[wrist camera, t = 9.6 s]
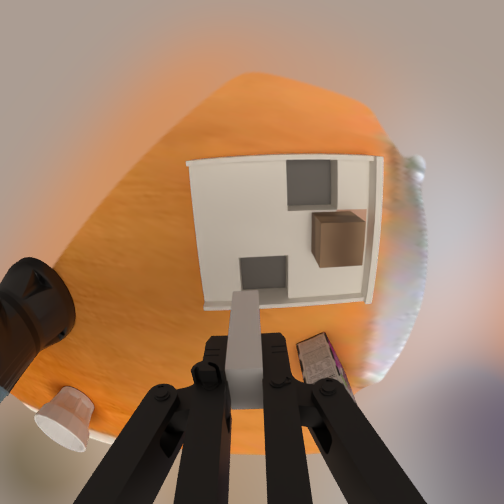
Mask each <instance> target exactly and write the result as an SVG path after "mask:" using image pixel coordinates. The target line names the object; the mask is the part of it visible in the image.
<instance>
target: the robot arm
mask: <svg viewBox="0 0 504 504" xmlns="http://www.w3.org/2000/svg"><path fill="white" fill-rule="evenodd" d="M74 322H75V310H74V305H73V302H72V299H71V296H70V294H69V292H68V290H67V288H66V286H65V284H64V283H63V281H62V280H61V278H60V277H59V276H58V275H57V273H56V272H55V271H54V270H53V269H52V268H51V267H49V266H48V265H47V264H46V263H44V262H42V261H41V260H38V259H36V258H32V257H27V258H23V259H21V260H19V261H18V262H16V263H15V264H14V265H13V266H11V268H10V269H9V270H8V272H7V274H6V275H5V277H4V278H3V280H2V282H1V283H0V403H1V401H3V399H4V398H5V397H6V396H8V395H9V393H10V391H11V390H12V388H13V387H14V386H15V384H16V383H17V381H18V380H19V378H20V377H21V376H22V374H23V373H24V372H25V370H26V369H27V367H28V366H29V365H30V363H31V362H32V361H33V360H34V358H35V357H36V356H37V354H38V353H39V352H40V351H41V350H43V349H45V348H47V347H49V346H51V345H53V344H55V343H57V342H59V341H61V340H62V339H64V338H65V337H66V336H67V334H68V333H69V332H70V331H71V329H72V328H73V326H74ZM191 373H192V377H193V380H194V384H193V385H191V386H189V387H186V388H182V389H177V390H176V389H175V388H174V387H173V386H171V385H169V384H159V385H156V386H154V387H152V388H151V389H150V390H149V391H148V393H147V394H146V396H145V397H144V399H143V400H142V402H141V403H140V405H139V406H138V407H137V409H136V410H135V412H134V413H133V415H132V416H131V418H130V419H129V421H128V422H127V424H126V425H125V427H124V428H123V430H122V431H121V433H120V434H119V436H118V437H117V438H116V440H115V441H114V443H113V444H112V446H111V447H110V449H109V450H108V452H107V453H106V455H105V456H104V458H103V459H102V461H101V462H100V464H99V465H98V467H97V468H96V470H95V471H94V473H93V474H92V476H91V477H90V479H89V480H88V482H87V483H86V485H85V486H84V488H83V489H82V491H81V492H80V494H79V495H78V497H77V498H76V500H75V501H74V503H73V504H153V502H154V500H155V498H156V496H157V494H158V492H159V490H160V488H161V486H162V485H163V483H164V480H165V479H166V477H167V475H168V473H169V471H170V469H171V467H172V465H173V463H174V460H175V459H176V457H177V455H178V453H179V451H180V449H181V447H182V445H183V449H182V454H181V460H180V466H179V472H178V478H177V485H176V491H175V498H174V504H228V491H229V468H230V465H229V464H230V445H231V424H232V418H231V408H232V409H262V408H264V431H265V454H266V478H267V502H268V504H313V502H312V495H311V488H310V481H309V474H308V467H307V460H306V453H305V446H304V440H303V433H302V427H301V426H306V427H308V429H309V431H310V433H311V435H312V437H313V439H314V441H315V443H316V445H317V446H318V448H319V450H320V452H321V454H322V456H323V458H324V460H325V462H326V464H327V466H328V467H329V469H330V471H331V473H332V475H333V477H334V479H335V480H336V482H337V484H338V486H339V488H340V490H341V491H342V493H343V495H344V497H345V499H346V501H347V502H348V504H427V503H426V502H425V501H424V499H423V497H422V496H421V495H420V493H419V492H418V490H417V489H416V488H415V486H414V485H413V483H412V482H411V480H410V479H409V478H408V476H407V475H406V474H405V472H404V471H403V469H402V468H401V466H400V465H399V464H398V462H397V461H396V459H395V458H394V456H393V455H392V454H391V452H390V451H389V449H388V448H387V447H386V445H385V444H384V442H383V441H382V440H381V438H380V437H379V436H378V434H377V433H376V431H375V430H374V428H373V427H372V425H371V424H370V423H369V421H368V420H367V418H366V417H365V416H364V414H363V413H362V411H361V410H360V409H359V407H358V406H357V404H356V403H355V401H354V400H353V399H352V397H351V396H350V394H349V393H348V391H347V390H346V389H345V387H344V386H343V384H342V383H341V382H339V381H338V380H336V379H334V378H322V379H320V380H318V381H316V382H315V383H314V384H308V383H303V382H300V381H298V380H296V379H295V378H294V377H293V376H292V374H291V370H290V363H289V357H288V352H287V346H286V340H285V337H284V336H283V335H282V334H281V333H264V334H261V328H260V311H259V293H258V290H250V291H233V294H232V304H231V313H230V323H229V333H228V336H211V337H210V338H209V340H208V341H207V342H206V346H205V352H204V357H203V361H201V362H198V363H197V364H195V365H194V366H193V367H192V369H191Z"/></svg>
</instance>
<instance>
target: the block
mask: <svg viewBox="0 0 504 504" xmlns="http://www.w3.org/2000/svg"><path fill="white" fill-rule="evenodd" d="M365 227H366V222H365V221H364V220H362V219H361V218H360V217H358V216H357V215H356V214H354V213H353V212H351V211H340V212H312V235H311V252H312V254H313V256H314V258H315V260H316V262H317V264H318V266H319V268H329V267H346V266H361V265H362V263H363V253H364V241H365Z"/></svg>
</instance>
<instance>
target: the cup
mask: <svg viewBox="0 0 504 504" xmlns="http://www.w3.org/2000/svg"><path fill="white" fill-rule="evenodd" d="M93 410H94V405H93V403H92V402H91V400H90V399H89V398H88V397H87V396H86V395H85V394H84V393H82V392H81V391H79V390H77V389H75V388H73V387H68V386H65V387H63V388H62V389H61V391H60V392H59V393H58V394H57V395H56V396H55V397H54V398H53V399H52V400H51V401H50V402H48V403H46V404H44V405H43V406H42V408H41V409H40V410H39V411H38V412H37V413H36V414H35V422H36V423H37V425H38V426H39V427H40V429H41V430H42V431H43V432H44V433H45V434H46V435H48V436H49V437H50V438H51V439H52V440H54V441H55V442H57V443H59V444H60V445H62V446H64V447H66V448H68V449H70V450H73V451H77V452H84V451H85V450H86V447H87V442H88V439H89V434H90V433H89V429H88V427H89V422H90V418H91V414H92V412H93Z"/></svg>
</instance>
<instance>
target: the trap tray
mask: <svg viewBox="0 0 504 504" xmlns="http://www.w3.org/2000/svg"><path fill="white" fill-rule="evenodd" d="M186 166H189V174H190V185H191V196H192V205H193V215H194V224H195V233H196V241H197V249H198V257H199V265H200V272H201V279H202V286H203V293H204V300H205V303H204V306H203V308H204V311H210V310H231V304H232V294H233V291H250V290H258V293H259V309H264V308H282V307H298V306H312V305H324V304H336V303H347V302H357V301H364V302H365V304H372V298H373V291H374V284H375V277H376V269H377V261H378V252H379V242H380V231H381V218H382V200H383V157H380V156H372V155H361V154H324V153H300V154H263V155H243V156H228V157H216V158H204V159H194V160H190V161H186ZM340 211H351V212H353V213H354V214H356V215H357V216H358V217H360V218H361V219H362V220H364V221H365V222H366V227H365V241H364V253H363V263H362V265H361V266H346V267H329V268H319V266H318V264H317V262H316V260H315V258H314V256H313V254H312V252H311V235H312V212H340Z"/></svg>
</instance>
